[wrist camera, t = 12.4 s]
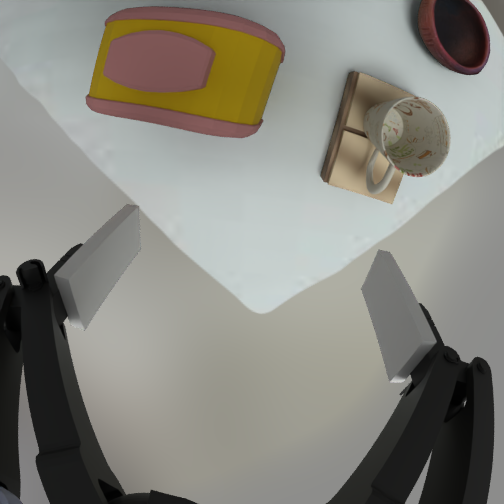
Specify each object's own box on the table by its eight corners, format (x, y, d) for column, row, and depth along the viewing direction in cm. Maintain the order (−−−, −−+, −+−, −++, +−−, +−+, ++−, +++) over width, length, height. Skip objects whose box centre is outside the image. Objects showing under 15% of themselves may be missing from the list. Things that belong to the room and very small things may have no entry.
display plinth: (348, 73, 31) (356, 70, 27) (416, 101, 31) (428, 102, 28) (320, 175, 39) (324, 183, 36) (385, 195, 39) (394, 205, 36)
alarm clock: (141, 100, 35) (54, 114, 18) (159, 32, 29) (80, 3, 13) (261, 127, 36) (249, 154, 20) (285, 57, 31) (295, 19, 14)
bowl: (480, 46, 23) (510, 44, 16) (449, 88, 29) (479, 91, 22) (411, -26, 19) (434, -41, 12) (373, 13, 25) (394, -2, 18)
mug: (419, 112, 29) (460, 122, 20) (386, 192, 35) (415, 223, 27) (366, 84, 28) (397, 81, 20) (333, 169, 35) (352, 195, 26)
